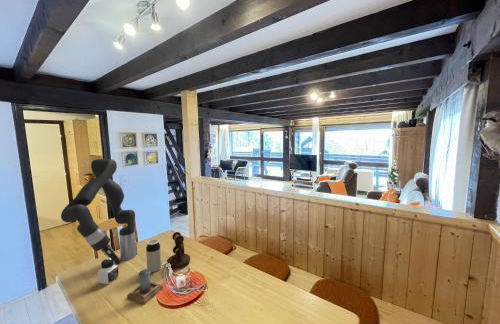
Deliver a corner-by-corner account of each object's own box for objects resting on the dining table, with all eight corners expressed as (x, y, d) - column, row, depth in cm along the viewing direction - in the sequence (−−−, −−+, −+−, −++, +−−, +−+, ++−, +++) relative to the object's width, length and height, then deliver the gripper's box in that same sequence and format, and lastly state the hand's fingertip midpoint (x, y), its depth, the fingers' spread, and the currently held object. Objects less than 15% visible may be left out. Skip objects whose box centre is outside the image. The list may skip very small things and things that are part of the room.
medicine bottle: (108, 284, 117) (107, 264, 116) (98, 283, 119) (96, 262, 118) (119, 276, 124) (117, 257, 123) (108, 275, 126) (107, 256, 125)
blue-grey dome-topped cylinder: (145, 285, 114) (145, 268, 113) (153, 288, 112) (153, 270, 111) (136, 292, 109) (136, 274, 108) (144, 295, 107) (144, 276, 106)
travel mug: (163, 266, 134) (162, 239, 132) (153, 273, 127) (152, 245, 125) (154, 263, 137) (153, 237, 136) (144, 270, 130) (143, 242, 129)
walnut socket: (146, 283, 118) (146, 278, 118) (163, 288, 114) (162, 283, 114) (127, 297, 107) (127, 292, 107) (144, 304, 103) (144, 299, 103)
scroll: (193, 264, 137) (192, 235, 135) (170, 272, 128) (168, 241, 127) (186, 254, 149) (185, 227, 147) (164, 261, 141) (163, 232, 139)
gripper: (108, 236, 101) (128, 259, 107) (101, 229, 110) (119, 251, 117) (92, 248, 96) (113, 271, 102) (86, 240, 106) (106, 262, 112)
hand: (116, 260), depth 109 cm, fingers open, 8 cm apart
